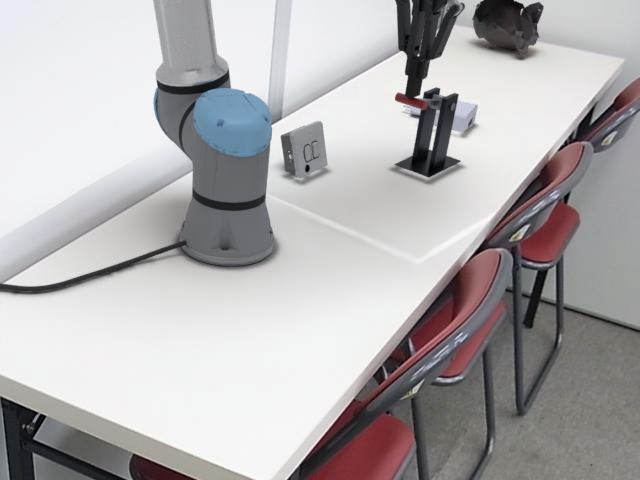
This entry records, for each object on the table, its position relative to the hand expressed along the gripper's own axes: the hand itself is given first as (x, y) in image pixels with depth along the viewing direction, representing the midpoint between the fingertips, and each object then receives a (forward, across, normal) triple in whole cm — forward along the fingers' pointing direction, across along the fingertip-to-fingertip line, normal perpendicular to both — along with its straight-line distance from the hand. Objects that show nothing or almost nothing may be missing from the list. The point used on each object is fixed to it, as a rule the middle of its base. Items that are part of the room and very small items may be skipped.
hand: (412, 95), depth 163 cm
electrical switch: (+17, +15, +10) cm, 25 cm away
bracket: (+17, 0, -11) cm, 20 cm away
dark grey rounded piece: (+17, +32, -98) cm, 104 cm away
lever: (+4, 0, -5) cm, 6 cm away
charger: (+17, +12, -34) cm, 40 cm away
